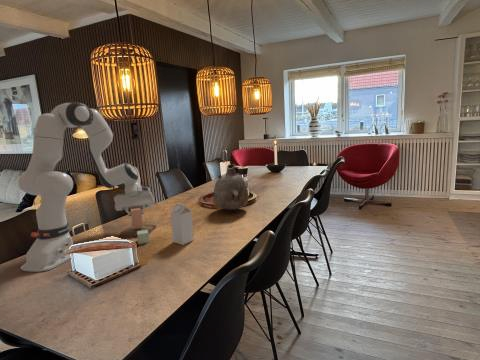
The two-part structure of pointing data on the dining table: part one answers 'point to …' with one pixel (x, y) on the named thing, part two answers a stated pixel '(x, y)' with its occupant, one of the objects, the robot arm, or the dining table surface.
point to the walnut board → (133, 232)
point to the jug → (230, 190)
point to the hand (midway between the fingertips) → (136, 214)
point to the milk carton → (182, 224)
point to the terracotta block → (136, 218)
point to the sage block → (143, 236)
